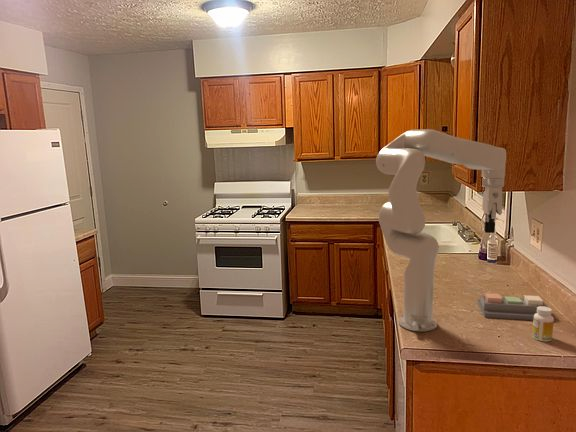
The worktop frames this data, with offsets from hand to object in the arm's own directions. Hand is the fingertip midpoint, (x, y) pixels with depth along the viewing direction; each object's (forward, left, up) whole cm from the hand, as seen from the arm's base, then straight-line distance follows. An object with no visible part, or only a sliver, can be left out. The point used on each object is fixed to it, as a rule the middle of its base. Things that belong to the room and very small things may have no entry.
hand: (489, 232), depth 161 cm
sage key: (-8, -8, -26) cm, 28 cm away
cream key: (-8, -14, -25) cm, 29 cm away
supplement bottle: (-28, -11, -27) cm, 41 cm away
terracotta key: (-8, -1, -25) cm, 26 cm away
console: (-8, -7, -27) cm, 29 cm away
